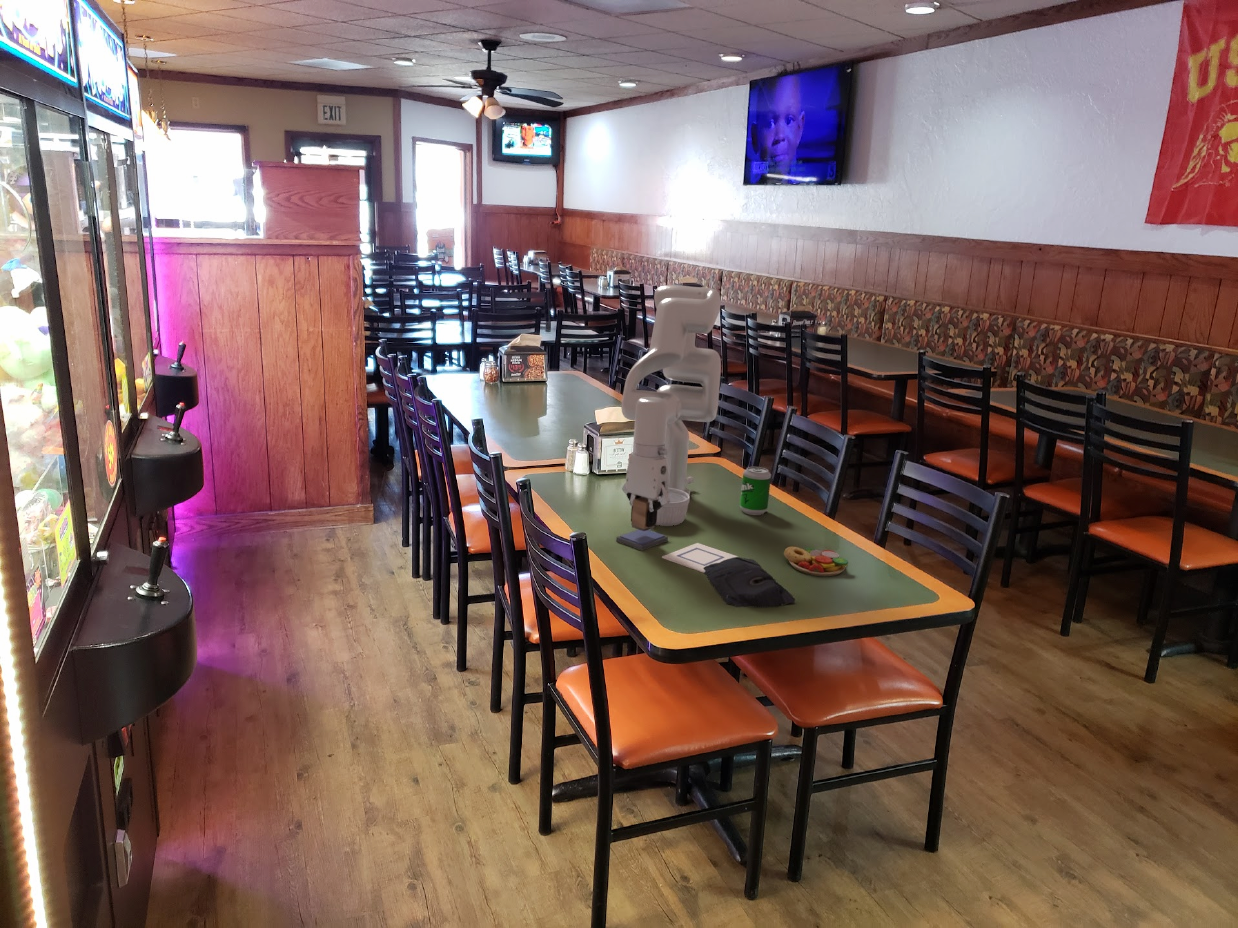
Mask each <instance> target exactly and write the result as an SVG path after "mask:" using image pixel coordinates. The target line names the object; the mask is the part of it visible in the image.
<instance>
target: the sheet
mask: <svg viewBox="0 0 1238 928" xmlns="http://www.w3.org/2000/svg"><path fill="white" fill-rule="evenodd" d="M733 557H739V556H738V555H734V554H732V553H730V552H729V553H728V552H725V551H723V550H719V549H717V548H714V547H710V546H707V545H704V544H702V543H700V542H696V543H693V544H691V545H687V546H686V547H683V548H680V549H678V550H676V551H672V552H671V553H668V554H665V555H662V556H661V559H664V560H667V561H670V562H673V563H675V564H678V565H681V566H684V567H687V568H689V569H692V570H694V571H697V572H700V573H703V574H704V572H705V570H704V569H703V568H704V567H706V566H708V565H710V564H714V563H720V562H721V561H723V560H727V559H730V558H733Z"/></svg>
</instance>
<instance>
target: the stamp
mask: <svg viewBox="0 0 1238 928" xmlns="http://www.w3.org/2000/svg"><path fill="white" fill-rule="evenodd" d="M654 504H655V503H654ZM631 509H632V508H631ZM647 511H649V502H648V498H645V497H640V498H637V499H633V509H632V522H631V528H634V529H636V530H642V531H646V530H653V529H655V526H656V525H654V526H651V527H646V519H647Z"/></svg>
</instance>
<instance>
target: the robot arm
mask: <svg viewBox="0 0 1238 928" xmlns="http://www.w3.org/2000/svg"><path fill="white" fill-rule="evenodd" d="M653 295H654V299H653V300H654V305H655V308H656V312H655V317H654V322H653V329H652V335H651V341H650V346H649V350H648V352H647V353H646V354H645V355H643V356H642V357H641V358H640V359H638V360H637V361H636V362H635V363H634V365H632V367H631V369H630V370H629V372H628V374H627V376H626V379H625V383H624V387H623V392H622V399H621V413H622V415H623V417H624V418H626V419H627V420H629V421H634V430H633V442H632V443H633V445H632V452H631V453H630V456H629V459H628V463H627V469H626V476H625V477H626V478H625V483H624V484H623V485H622V487H621V490H622V492H623V493H624V494H625V495H626V497H627V499H628V501H629V505H630V506H631V509H630V510H631V511H630V522H631V523H632V509H633V499H637V498H640V497H645V498H648V502H649V511H647V519H646V527H651V526H654V525H655V526H657V525H656V522H657V510H659V509H660V508H661V507H662V506H663V505H665V504H667V503H669V502H670V499H669V497H668V489H669V488H673V489H678V490H681V491H684V492H686V493H687V494H688V495H689V496H691V490H689V488H688V487H687V486H688V484H692V483H694V481H695V479H694V477H693V476H688V477H687V469H688V455H689V447H690V446H689V445H690V434H689V430H688V429H687V427H686V425H685V424H684V422H683V421H689V422H690V421H692V422H702V423H710V422H713V420H714V419H716V418H717V414H718V408H719V407H718V406H719V396H720V383H721V373H722V371H721V370H722V369H721V367H722V362H721V356H720V353H718V351H716V350H715V349H712V348H701V347H697V346H696V336H697V335H696V334H701V335H702V334H704V335H705V334H709V333H711V331H712V329H713V328H714V326H715V323H716V321H717V318H718V316H719V313H720V311H721V295H720V292H719V291H718V290H716V289H714V288H710V287H701V286H700V287H698V286H689V285H677V284H676V285H675V284H666V285H660V286H659V287H657V288H656V289H655V291H654V294H653ZM660 370H662V374H663V376H664V377H665V378H666V379H667V380H671V381H675V382H676V381H677V382H684V383H693V384H694V383H695V384H700V385H701V386H693V385H692V386H691V385H684V384H665V385H662V386H660V387H659V388H658V389H657V390H656V391H651V390H642V389H638V385H639V384H640V382H641V381H642V380H643V379H644V378H646V377H647V376H648V375H650V374H652V373H655V372H658V371H660ZM659 496H661V501H660V500H659ZM654 503H655V504H654ZM655 526H654V527H655Z"/></svg>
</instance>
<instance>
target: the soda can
mask: <svg viewBox="0 0 1238 928" xmlns="http://www.w3.org/2000/svg"><path fill="white" fill-rule="evenodd" d="M771 477H772V474H771V472H770V471H769V469H767V468H765V467H760V466H748V467H746V469H745V470H743V472H742V480H741V491H740V492H741V493H740V500H739V501H740V502H739V508H740V509H741V511H742V512H743V513H744V514H747V515H750V516H761V514H762V515H764V513H765V512H767V511H768V507H769V498H770V490H771V489H770V488H771Z"/></svg>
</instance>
